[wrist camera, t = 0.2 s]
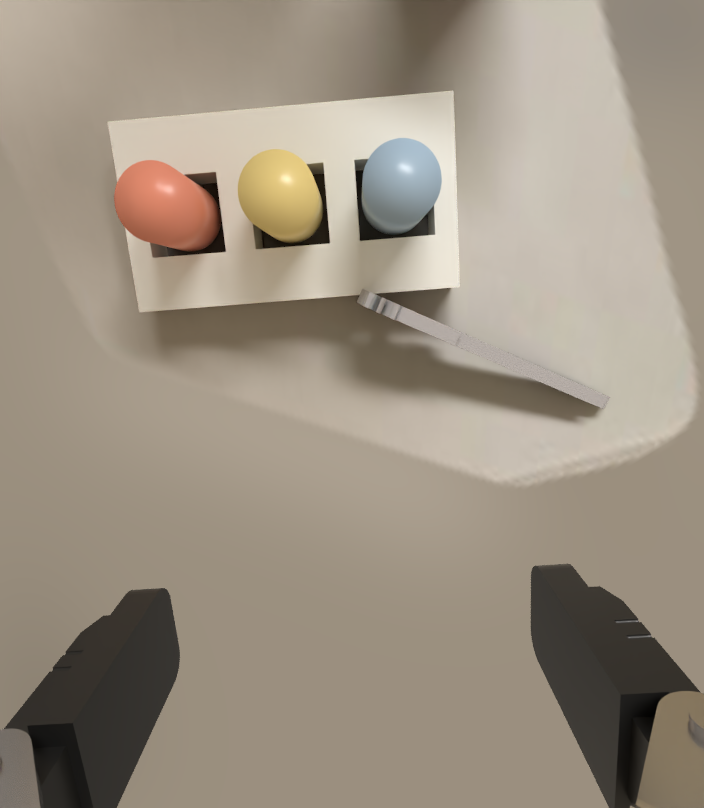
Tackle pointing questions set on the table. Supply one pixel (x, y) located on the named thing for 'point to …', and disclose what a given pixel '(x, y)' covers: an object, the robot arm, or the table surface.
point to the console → (338, 160)
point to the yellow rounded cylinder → (280, 196)
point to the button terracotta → (166, 207)
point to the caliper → (479, 348)
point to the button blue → (400, 185)
